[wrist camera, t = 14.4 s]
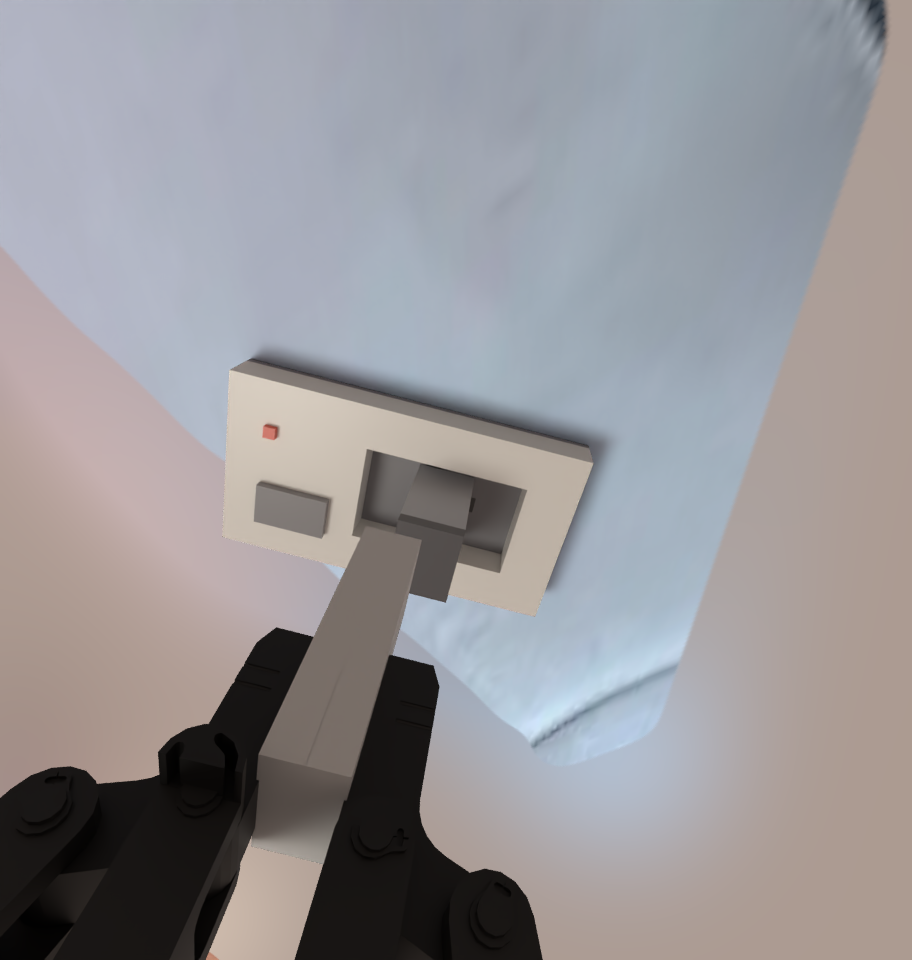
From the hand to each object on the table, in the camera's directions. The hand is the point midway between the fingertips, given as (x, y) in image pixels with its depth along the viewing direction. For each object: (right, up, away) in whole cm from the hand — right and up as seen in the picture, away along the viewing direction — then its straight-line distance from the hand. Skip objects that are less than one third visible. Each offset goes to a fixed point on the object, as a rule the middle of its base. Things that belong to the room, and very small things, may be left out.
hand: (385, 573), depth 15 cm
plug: (+1, +1, +25) cm, 25 cm away
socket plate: (-2, +2, +26) cm, 26 cm away
